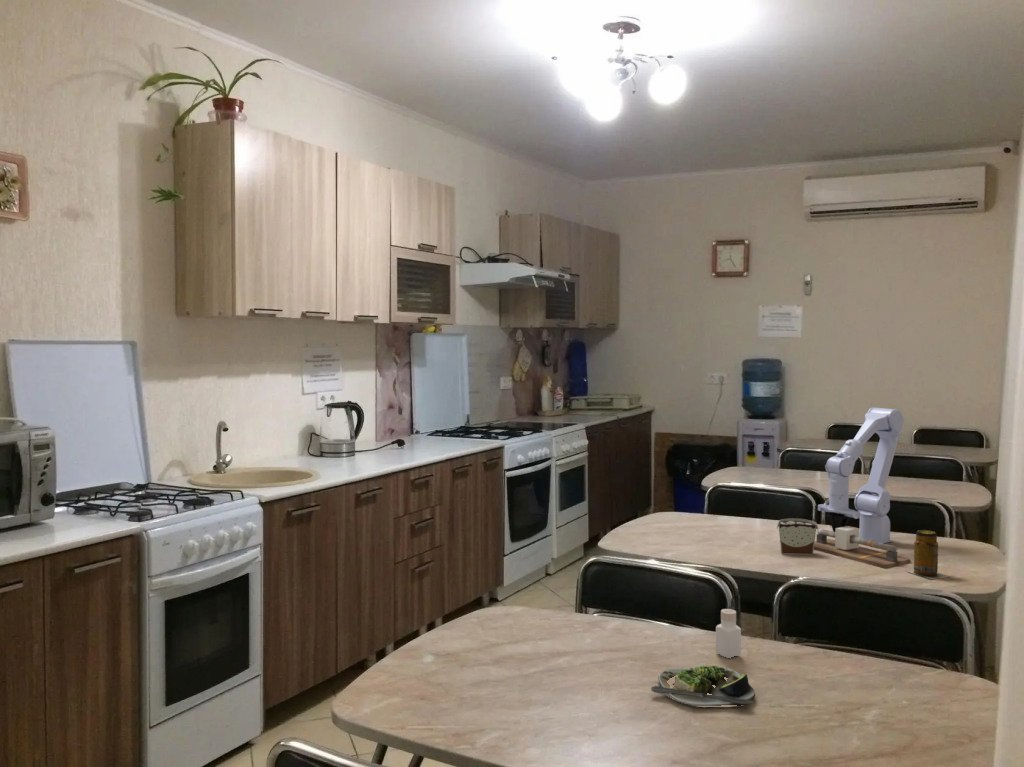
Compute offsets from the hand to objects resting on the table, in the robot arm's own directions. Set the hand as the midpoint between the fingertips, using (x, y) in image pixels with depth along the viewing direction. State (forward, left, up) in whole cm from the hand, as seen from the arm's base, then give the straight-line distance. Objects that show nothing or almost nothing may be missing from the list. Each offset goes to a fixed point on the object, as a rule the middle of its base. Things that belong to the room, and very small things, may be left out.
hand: (838, 536), depth 262 cm
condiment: (+4, +33, -4) cm, 33 cm away
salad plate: (+111, +58, -4) cm, 125 cm away
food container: (+16, -4, -4) cm, 17 cm away
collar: (+3, +5, -2) cm, 6 cm away
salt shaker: (+95, +47, -4) cm, 106 cm away
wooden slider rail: (+3, +8, -3) cm, 9 cm away
